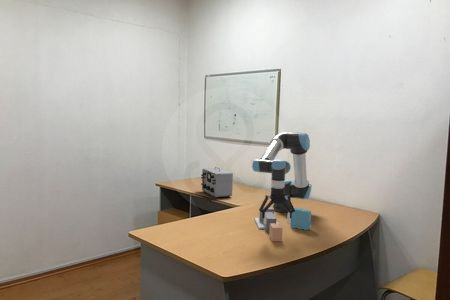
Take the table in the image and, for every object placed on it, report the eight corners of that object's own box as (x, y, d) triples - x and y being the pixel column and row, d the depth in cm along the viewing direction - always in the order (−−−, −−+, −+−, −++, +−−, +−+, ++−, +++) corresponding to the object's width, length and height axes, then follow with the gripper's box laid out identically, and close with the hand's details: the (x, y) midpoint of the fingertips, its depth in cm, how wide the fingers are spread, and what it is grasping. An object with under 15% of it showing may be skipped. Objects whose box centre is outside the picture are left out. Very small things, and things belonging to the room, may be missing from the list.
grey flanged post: (274, 220, 228) (275, 206, 227) (282, 231, 204) (283, 216, 203) (254, 219, 227) (255, 206, 226) (259, 231, 203) (260, 215, 202)
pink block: (279, 236, 194) (279, 223, 193) (282, 241, 186) (282, 227, 185) (269, 236, 194) (269, 223, 193) (271, 241, 186) (272, 227, 185)
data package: (310, 229, 210) (311, 210, 209) (308, 231, 206) (309, 212, 205) (292, 225, 217) (293, 207, 215) (290, 227, 213) (290, 209, 212)
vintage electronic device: (200, 191, 313) (200, 165, 311) (217, 190, 320) (218, 164, 318) (213, 199, 284) (213, 170, 282) (232, 197, 292) (232, 169, 290)
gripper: (297, 185, 191) (296, 221, 193) (254, 185, 190) (253, 221, 192) (301, 188, 184) (299, 225, 186) (256, 188, 183) (255, 225, 185)
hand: (276, 223), depth 189 cm, fingers open, 13 cm apart
